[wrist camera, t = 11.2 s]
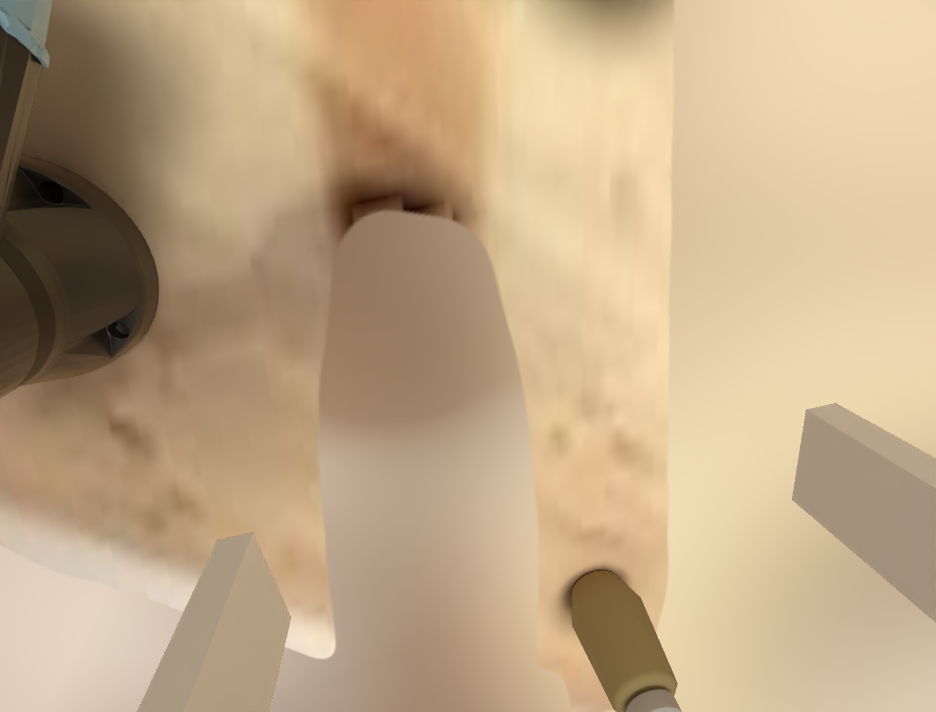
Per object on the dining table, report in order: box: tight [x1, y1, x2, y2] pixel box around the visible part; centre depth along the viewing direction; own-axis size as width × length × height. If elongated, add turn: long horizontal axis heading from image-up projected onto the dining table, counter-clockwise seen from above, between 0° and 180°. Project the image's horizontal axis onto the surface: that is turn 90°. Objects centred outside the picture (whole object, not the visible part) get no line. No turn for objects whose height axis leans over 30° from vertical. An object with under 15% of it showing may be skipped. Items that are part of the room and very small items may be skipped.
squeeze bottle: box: [572, 570, 681, 712], centre depth 46 cm, size 8×8×18 cm
